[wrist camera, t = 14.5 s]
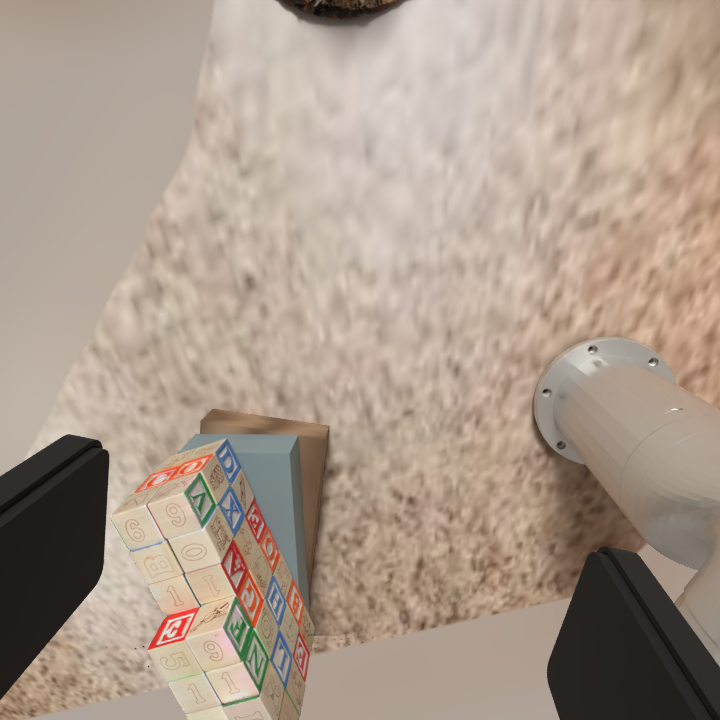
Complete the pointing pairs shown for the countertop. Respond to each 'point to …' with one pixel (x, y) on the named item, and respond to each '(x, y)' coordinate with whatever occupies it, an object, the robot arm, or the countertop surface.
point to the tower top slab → (273, 491)
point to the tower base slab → (310, 458)
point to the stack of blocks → (218, 590)
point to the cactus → (340, 7)
